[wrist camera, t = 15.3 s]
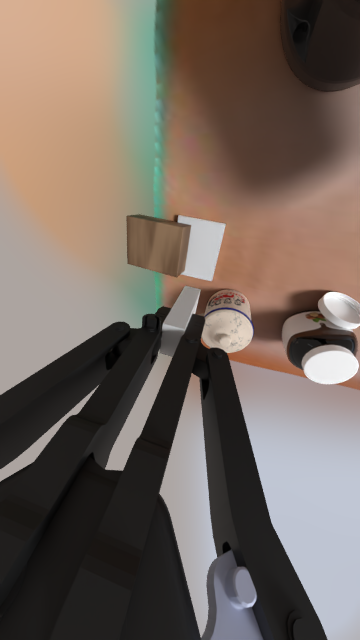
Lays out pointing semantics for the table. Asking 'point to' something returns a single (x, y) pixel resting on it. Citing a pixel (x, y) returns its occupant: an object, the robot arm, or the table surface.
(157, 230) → the walnut slab
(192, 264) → the grey board
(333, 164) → the table surface
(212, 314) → the teacup with lid
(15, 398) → the robot arm
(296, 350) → the spread jar
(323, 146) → the table surface
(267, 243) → the table surface
